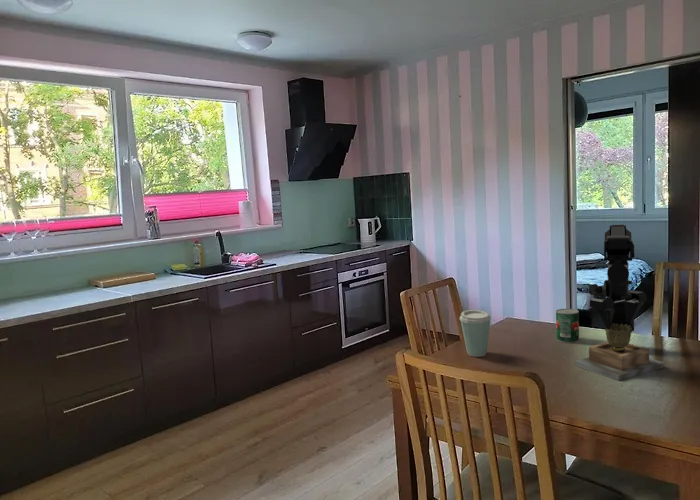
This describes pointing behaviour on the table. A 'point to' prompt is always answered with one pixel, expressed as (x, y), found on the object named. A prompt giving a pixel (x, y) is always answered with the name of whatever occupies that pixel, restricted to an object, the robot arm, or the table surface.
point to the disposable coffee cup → (475, 331)
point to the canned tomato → (567, 325)
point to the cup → (618, 336)
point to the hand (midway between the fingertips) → (618, 326)
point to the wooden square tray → (618, 361)
